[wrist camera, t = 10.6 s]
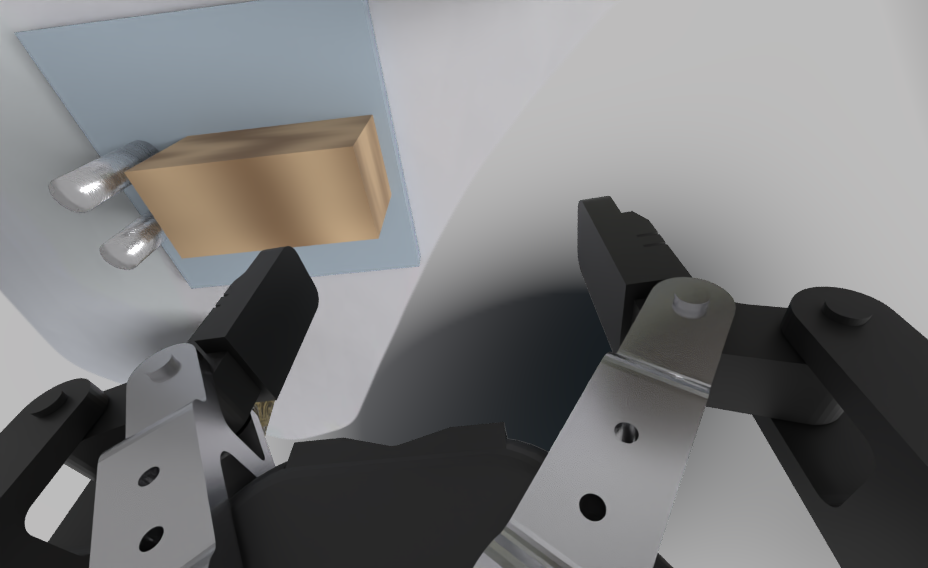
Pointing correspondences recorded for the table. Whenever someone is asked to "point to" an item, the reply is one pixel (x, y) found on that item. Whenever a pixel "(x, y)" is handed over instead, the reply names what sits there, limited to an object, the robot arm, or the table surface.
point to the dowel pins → (102, 183)
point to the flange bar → (268, 187)
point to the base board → (232, 99)
